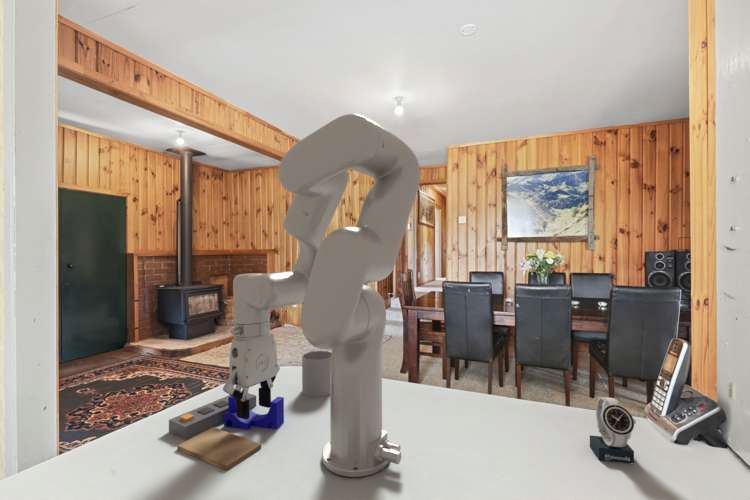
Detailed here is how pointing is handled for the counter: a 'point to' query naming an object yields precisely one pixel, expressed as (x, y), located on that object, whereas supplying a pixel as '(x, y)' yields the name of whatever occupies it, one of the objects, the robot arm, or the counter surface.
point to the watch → (613, 432)
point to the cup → (316, 373)
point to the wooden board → (219, 448)
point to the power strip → (203, 418)
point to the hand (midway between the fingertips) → (254, 411)
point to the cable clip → (255, 416)
